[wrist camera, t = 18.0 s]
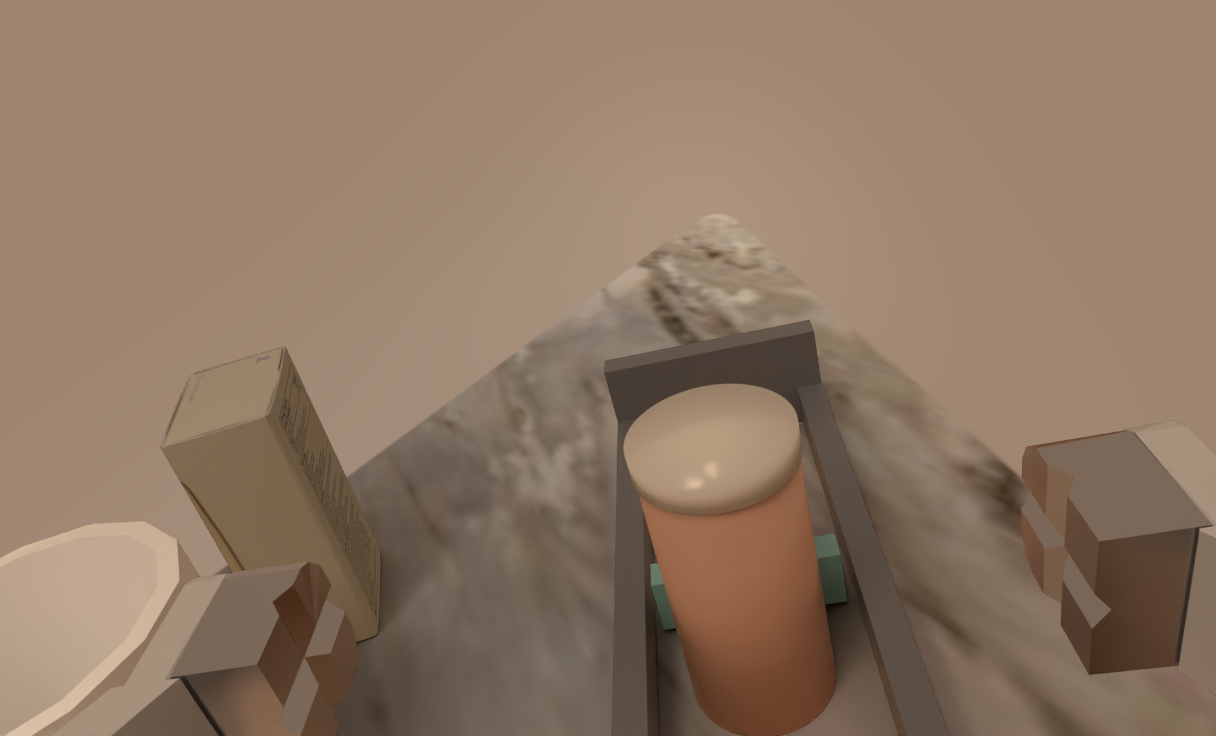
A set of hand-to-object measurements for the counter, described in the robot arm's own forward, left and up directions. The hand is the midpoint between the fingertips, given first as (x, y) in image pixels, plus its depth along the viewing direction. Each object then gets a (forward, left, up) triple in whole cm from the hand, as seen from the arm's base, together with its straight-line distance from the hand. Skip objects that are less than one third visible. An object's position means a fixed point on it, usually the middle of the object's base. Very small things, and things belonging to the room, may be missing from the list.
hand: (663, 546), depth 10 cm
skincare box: (-19, +23, -20) cm, 35 cm away
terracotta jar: (0, +15, -20) cm, 25 cm away
